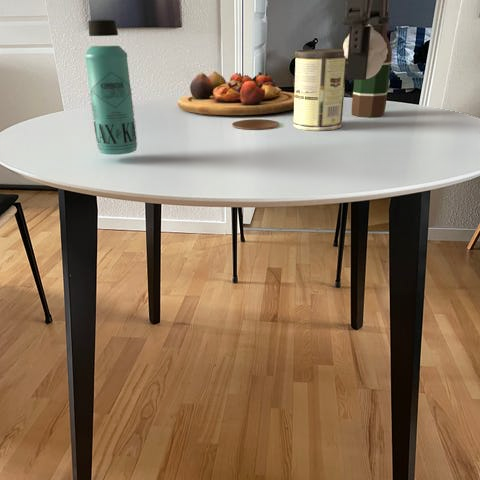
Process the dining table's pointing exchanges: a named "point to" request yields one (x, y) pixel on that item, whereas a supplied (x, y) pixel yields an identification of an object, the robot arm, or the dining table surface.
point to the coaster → (255, 124)
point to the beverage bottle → (110, 93)
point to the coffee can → (319, 89)
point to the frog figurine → (372, 52)
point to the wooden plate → (235, 95)
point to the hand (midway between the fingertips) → (362, 76)
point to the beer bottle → (373, 88)
